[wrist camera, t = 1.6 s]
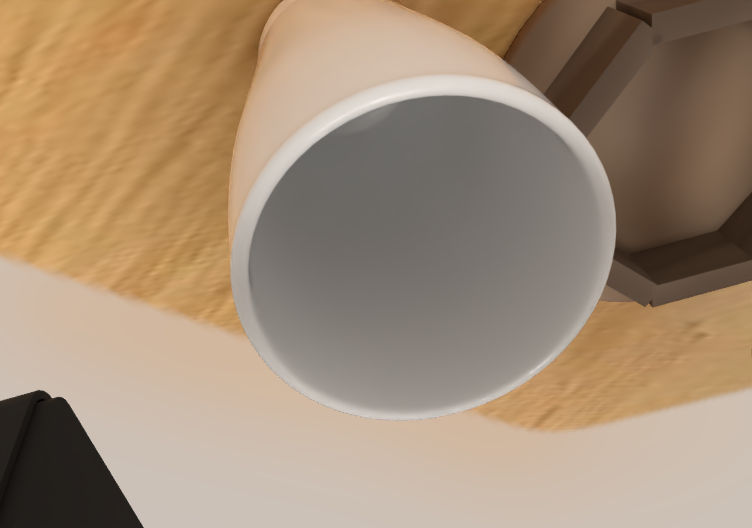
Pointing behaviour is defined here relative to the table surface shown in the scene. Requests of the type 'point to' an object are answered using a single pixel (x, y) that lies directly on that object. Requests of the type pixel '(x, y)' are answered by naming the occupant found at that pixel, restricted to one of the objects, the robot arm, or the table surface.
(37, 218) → the table surface
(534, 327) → the drinking glass
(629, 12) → the glass holder
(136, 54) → the table surface
